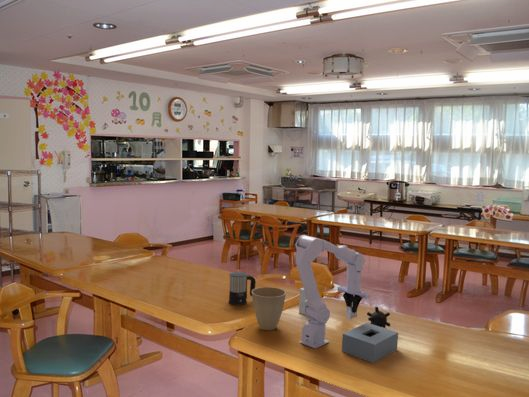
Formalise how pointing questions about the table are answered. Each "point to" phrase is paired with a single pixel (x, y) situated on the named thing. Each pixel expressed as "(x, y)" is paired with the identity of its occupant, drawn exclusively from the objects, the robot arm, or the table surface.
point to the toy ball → (378, 318)
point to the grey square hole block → (369, 342)
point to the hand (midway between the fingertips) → (351, 311)
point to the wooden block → (350, 312)
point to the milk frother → (240, 287)
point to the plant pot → (268, 306)
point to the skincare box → (302, 301)
